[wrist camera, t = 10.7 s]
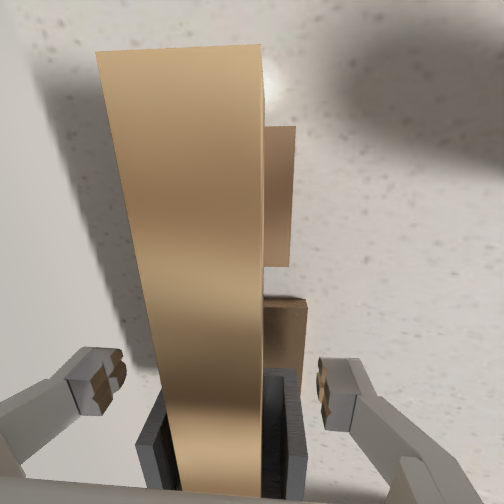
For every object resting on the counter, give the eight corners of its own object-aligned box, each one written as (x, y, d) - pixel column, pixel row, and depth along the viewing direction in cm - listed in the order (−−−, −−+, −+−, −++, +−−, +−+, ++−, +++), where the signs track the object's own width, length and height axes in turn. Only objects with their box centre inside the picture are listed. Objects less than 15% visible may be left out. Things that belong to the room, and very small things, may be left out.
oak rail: (174, 101, 9) (94, 51, 5) (264, 98, 9) (260, 44, 5) (211, 439, 16) (191, 535, 12) (262, 442, 16) (260, 542, 12)
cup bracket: (297, 399, 23) (317, 564, 13) (194, 393, 23) (145, 547, 14) (305, 299, 19) (341, 435, 9) (181, 296, 19) (101, 420, 10)
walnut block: (282, 232, 17) (289, 266, 11) (199, 231, 17) (166, 264, 12) (285, 139, 15) (295, 126, 9) (191, 140, 15) (146, 129, 10)
